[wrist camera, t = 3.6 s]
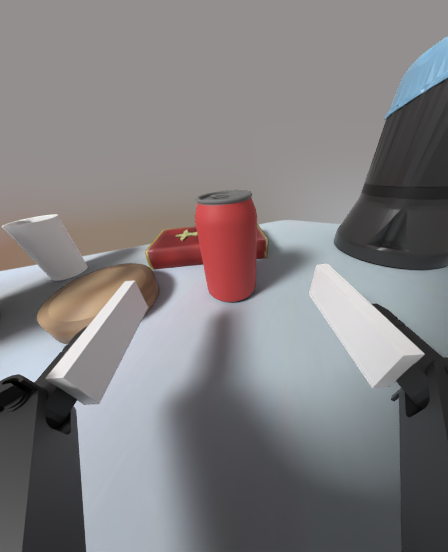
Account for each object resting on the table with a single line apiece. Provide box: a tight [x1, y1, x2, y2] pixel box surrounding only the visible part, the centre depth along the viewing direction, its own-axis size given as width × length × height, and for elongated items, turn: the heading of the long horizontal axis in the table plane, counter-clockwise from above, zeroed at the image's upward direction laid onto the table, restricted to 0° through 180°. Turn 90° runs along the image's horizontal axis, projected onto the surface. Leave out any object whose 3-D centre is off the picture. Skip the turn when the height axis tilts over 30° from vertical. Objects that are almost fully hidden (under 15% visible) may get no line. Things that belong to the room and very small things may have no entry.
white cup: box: [2, 214, 88, 281], centre depth 29 cm, size 7×7×10 cm
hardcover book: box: [145, 224, 268, 270], centre depth 33 cm, size 12×21×4 cm, turn 92°
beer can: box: [195, 190, 257, 302], centre depth 20 cm, size 7×7×12 cm
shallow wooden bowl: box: [37, 263, 159, 344], centre depth 22 cm, size 13×13×3 cm
